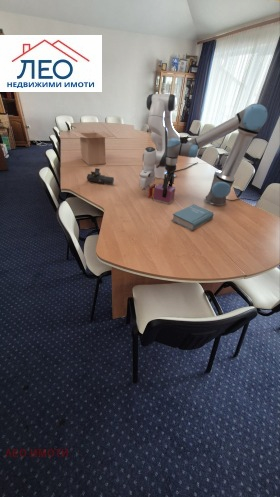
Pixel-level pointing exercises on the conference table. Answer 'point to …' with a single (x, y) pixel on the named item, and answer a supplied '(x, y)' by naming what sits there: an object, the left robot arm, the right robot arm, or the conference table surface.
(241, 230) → the conference table surface
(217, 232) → the conference table surface
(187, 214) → the book
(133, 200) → the conference table surface
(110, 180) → the laser sight
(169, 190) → the cabinet
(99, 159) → the box
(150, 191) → the drawer
